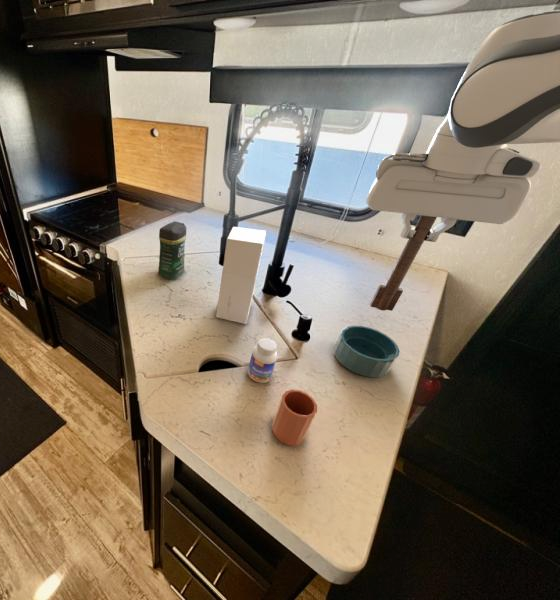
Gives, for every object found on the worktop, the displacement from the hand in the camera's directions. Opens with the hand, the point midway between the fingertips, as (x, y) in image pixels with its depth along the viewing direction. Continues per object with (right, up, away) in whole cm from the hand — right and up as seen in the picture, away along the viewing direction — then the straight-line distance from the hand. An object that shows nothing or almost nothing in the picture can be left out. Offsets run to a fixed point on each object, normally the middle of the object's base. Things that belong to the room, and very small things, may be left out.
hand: (417, 238), depth 56 cm
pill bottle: (-23, -29, +18) cm, 41 cm away
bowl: (+3, -26, +21) cm, 34 cm away
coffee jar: (-42, -2, +56) cm, 70 cm away
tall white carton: (-24, -15, +37) cm, 47 cm away
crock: (-21, -37, +5) cm, 43 cm away
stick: (0, -13, +9) cm, 16 cm away
